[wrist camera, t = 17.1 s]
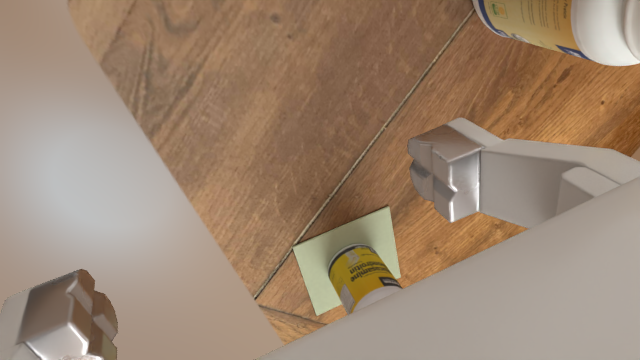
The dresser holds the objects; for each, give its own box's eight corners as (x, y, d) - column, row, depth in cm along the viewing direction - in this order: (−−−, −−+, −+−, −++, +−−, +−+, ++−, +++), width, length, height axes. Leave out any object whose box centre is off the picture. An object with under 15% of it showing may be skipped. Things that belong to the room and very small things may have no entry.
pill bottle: (384, 245, 52) (438, 315, 42) (360, 286, 54) (407, 361, 44) (339, 236, 48) (387, 310, 39) (316, 280, 51) (357, 360, 41)
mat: (316, 314, 54) (316, 315, 53) (292, 246, 47) (292, 247, 47) (399, 276, 56) (400, 277, 56) (388, 205, 49) (389, 206, 49)
